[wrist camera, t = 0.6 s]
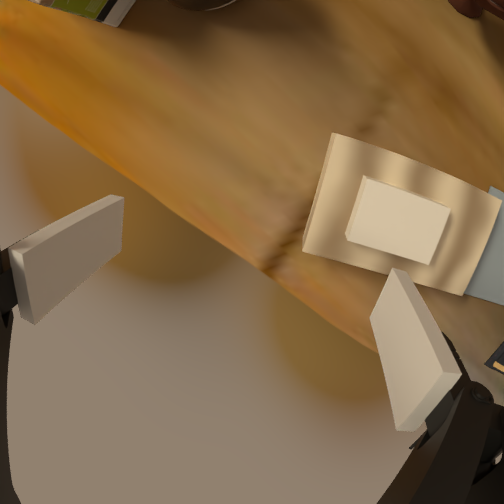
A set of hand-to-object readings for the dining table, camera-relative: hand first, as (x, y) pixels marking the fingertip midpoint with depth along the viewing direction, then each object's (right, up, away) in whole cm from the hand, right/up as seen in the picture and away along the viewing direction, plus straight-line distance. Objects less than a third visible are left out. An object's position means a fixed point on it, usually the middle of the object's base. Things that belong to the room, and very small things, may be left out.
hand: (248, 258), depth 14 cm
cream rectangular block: (+14, +4, +15) cm, 21 cm away
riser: (+17, +5, +18) cm, 25 cm away
